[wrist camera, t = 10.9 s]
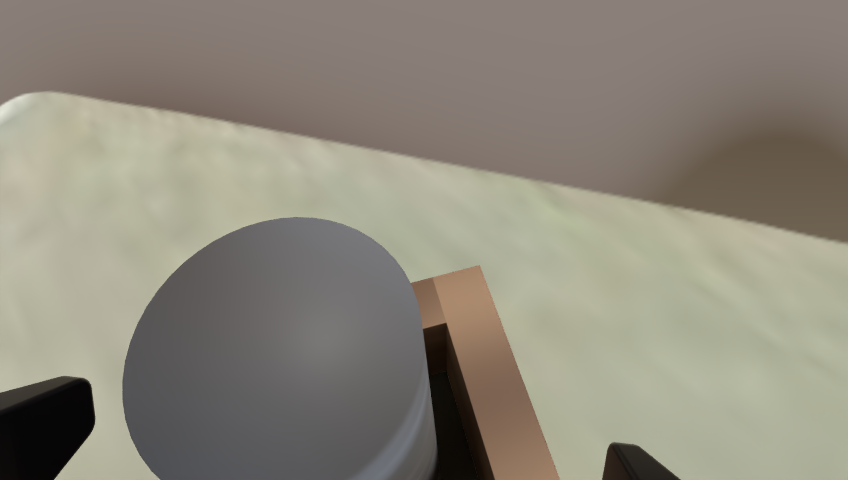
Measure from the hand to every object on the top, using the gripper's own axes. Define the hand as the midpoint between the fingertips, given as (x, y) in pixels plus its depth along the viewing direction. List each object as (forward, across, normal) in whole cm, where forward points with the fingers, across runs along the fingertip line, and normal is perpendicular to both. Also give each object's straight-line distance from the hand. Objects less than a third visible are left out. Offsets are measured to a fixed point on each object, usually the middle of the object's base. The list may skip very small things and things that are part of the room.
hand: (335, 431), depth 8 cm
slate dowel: (+7, 0, +6) cm, 9 cm away
